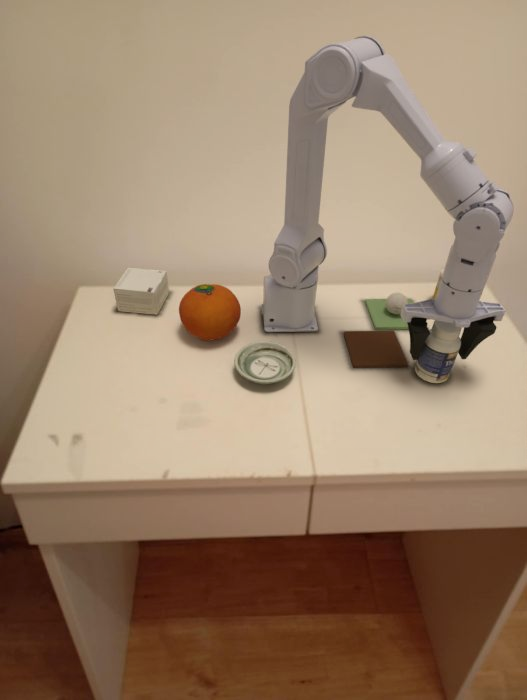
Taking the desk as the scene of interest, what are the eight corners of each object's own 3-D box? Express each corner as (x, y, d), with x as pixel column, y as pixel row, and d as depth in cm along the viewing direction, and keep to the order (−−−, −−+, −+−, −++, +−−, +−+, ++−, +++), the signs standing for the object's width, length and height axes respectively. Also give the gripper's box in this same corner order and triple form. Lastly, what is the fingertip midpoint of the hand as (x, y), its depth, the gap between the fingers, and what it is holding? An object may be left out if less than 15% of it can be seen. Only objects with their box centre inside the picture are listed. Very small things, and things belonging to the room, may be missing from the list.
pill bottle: (443, 389, 73) (461, 340, 67) (409, 376, 75) (424, 327, 69) (452, 369, 77) (470, 321, 71) (420, 357, 79) (435, 310, 73)
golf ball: (399, 305, 90) (403, 287, 87) (409, 317, 87) (414, 299, 84) (380, 307, 89) (383, 290, 86) (389, 320, 86) (394, 302, 83)
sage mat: (375, 329, 85) (376, 327, 84) (364, 301, 91) (365, 299, 91) (424, 329, 85) (425, 326, 85) (410, 301, 92) (411, 298, 92)
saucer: (226, 385, 73) (226, 374, 71) (244, 347, 80) (244, 336, 78) (287, 398, 71) (288, 386, 69) (300, 358, 78) (301, 346, 77)
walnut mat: (353, 367, 77) (353, 365, 76) (343, 333, 84) (343, 331, 83) (407, 367, 77) (408, 364, 77) (393, 333, 84) (394, 330, 84)
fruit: (249, 341, 81) (249, 302, 76) (190, 355, 78) (186, 316, 73) (229, 308, 89) (227, 271, 84) (175, 319, 86) (170, 281, 80)
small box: (131, 289, 93) (127, 266, 90) (170, 292, 92) (167, 270, 89) (117, 311, 87) (111, 288, 84) (158, 315, 86) (154, 292, 83)
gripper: (420, 297, 62) (398, 373, 70) (527, 296, 62) (493, 372, 71) (405, 270, 67) (387, 343, 76) (504, 269, 68) (475, 342, 76)
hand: (437, 355), depth 74 cm, fingers open, 7 cm apart
